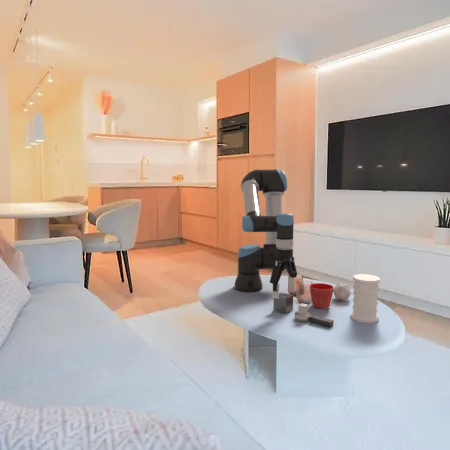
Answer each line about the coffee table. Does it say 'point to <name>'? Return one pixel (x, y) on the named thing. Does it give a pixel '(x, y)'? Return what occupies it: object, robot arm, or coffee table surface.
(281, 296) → the grey wood-grain cube
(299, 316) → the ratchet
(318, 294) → the flower pot
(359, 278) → the decorative container
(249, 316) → the coffee table surface
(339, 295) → the die
